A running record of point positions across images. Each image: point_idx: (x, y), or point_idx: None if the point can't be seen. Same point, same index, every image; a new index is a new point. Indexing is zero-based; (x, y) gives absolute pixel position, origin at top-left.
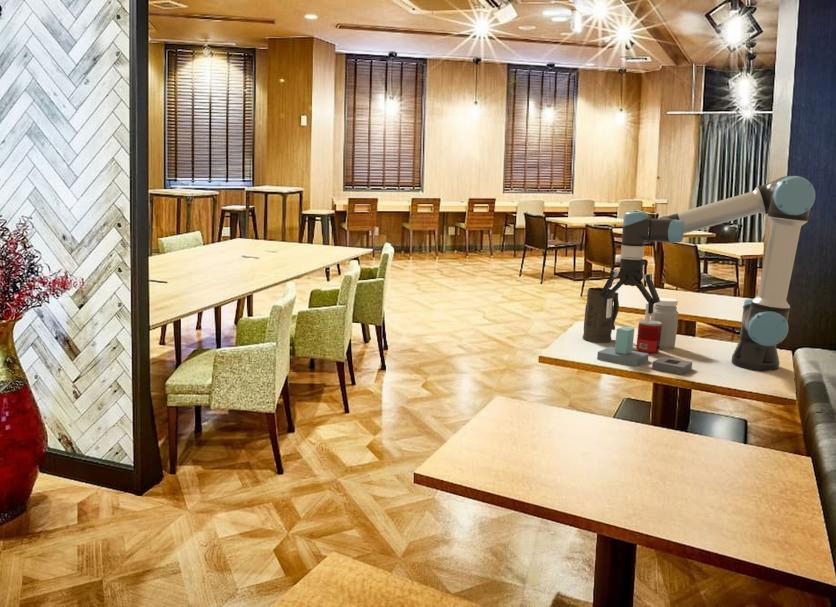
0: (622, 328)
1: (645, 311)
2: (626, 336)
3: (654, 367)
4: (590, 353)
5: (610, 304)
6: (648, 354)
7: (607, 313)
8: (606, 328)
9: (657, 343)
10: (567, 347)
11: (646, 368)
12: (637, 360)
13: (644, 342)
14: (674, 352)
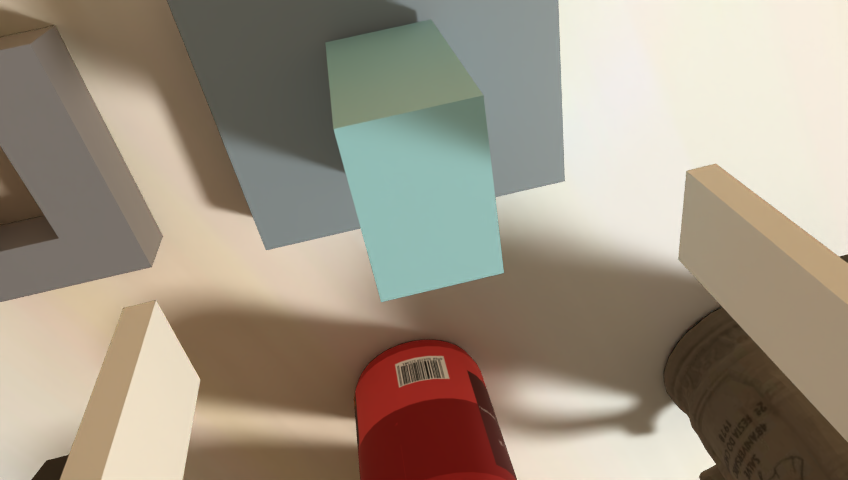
0: (455, 184)
1: (111, 442)
2: (343, 98)
3: (27, 35)
4: (649, 35)
5: (809, 338)
6: (264, 242)
7: (738, 198)
8: (726, 409)
9: (357, 434)
10: (845, 42)
11: (94, 6)
12: (171, 2)
13: (418, 389)
14: (318, 470)
